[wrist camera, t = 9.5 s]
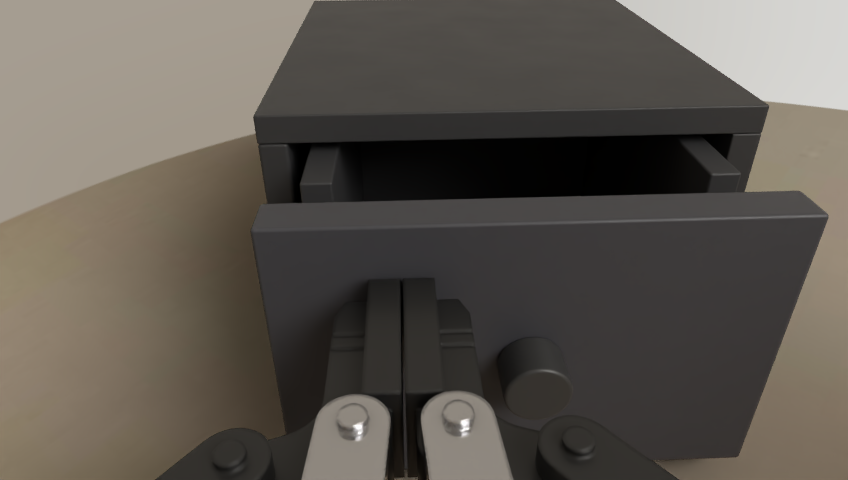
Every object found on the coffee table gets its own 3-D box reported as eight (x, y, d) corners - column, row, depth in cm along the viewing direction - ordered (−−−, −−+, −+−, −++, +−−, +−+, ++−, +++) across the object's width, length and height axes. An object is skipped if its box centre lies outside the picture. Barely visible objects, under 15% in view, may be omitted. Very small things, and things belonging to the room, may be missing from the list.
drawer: (760, 495, 17) (867, 244, 13) (285, 514, 16) (236, 261, 12) (603, 218, 29) (631, 47, 25) (333, 225, 29) (316, 52, 25)
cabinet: (692, 373, 22) (770, 105, 17) (294, 387, 21) (252, 115, 16) (584, 183, 34) (610, -4, 29) (331, 189, 34) (313, 0, 29)
